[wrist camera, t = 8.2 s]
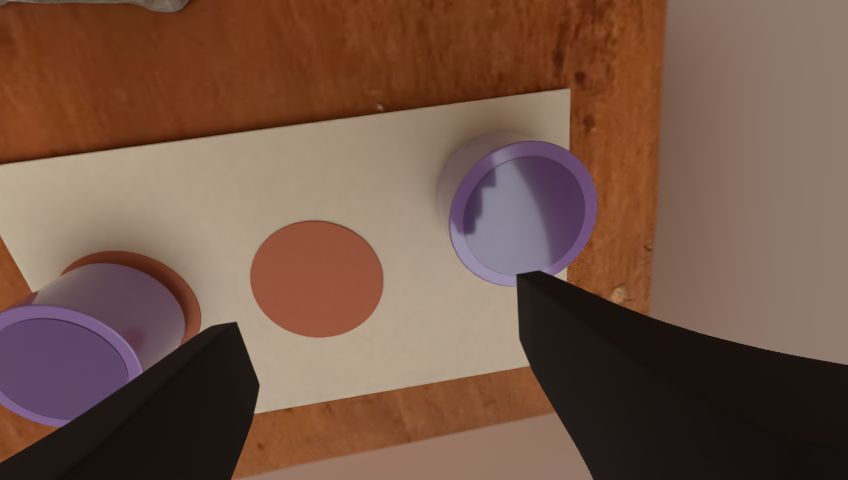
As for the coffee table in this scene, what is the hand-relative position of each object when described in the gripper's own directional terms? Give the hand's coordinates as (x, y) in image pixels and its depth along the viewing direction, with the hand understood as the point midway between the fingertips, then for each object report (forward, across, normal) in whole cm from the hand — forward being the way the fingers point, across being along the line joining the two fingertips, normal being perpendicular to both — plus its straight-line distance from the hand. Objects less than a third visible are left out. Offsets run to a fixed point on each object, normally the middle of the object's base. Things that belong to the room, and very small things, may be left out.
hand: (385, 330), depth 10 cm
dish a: (+8, +12, +2) cm, 14 cm away
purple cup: (+8, -5, -1) cm, 10 cm away
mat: (+8, +3, +2) cm, 9 cm away
